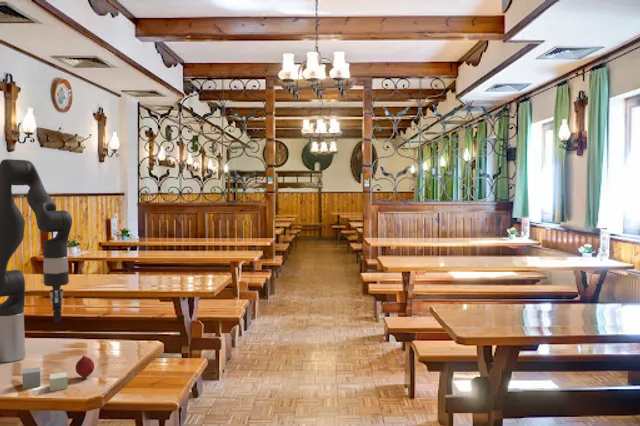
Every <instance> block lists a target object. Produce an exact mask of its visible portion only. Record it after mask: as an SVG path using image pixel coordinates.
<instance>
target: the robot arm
mask: <svg viewBox="0 0 640 426" xmlns="http://www.w3.org/2000/svg"><path fill="white" fill-rule="evenodd" d="M13 186H27V187H29V189H28V191H27V194H26V202H27V204H28V206H29V207H30V209H31V210H32V211H33V213H34V216H35V219H36V225H37V229H39V230H40V231H41V232H43V233H56V235H55V237H53V238H49V239H46V240H45V241H44V242H43V264H42V265H43V269H42V270H43V285H44V286H45V287H52V289H50V291H49V296H50V305H51V306H52V312H53V322H54V323H60V322H62V308H63V307H62V305H63V302H64V301H63V298H64V297H63V296H64V289H63V288H62V289H61V287H62V286H66V285H68V284H69V282H70V279H69V278H70V277H69V276H70V275H69V260H68V259H69V258H68V241H69V236H70V233H71V229H72V226H73V217H72V215H71V213H70V212H69V211H66V210H65V209H64V210H63V209H62V210H57V205H56V203H55V201H54V200H53V199H52V197H51V196H50V195H49V193H48V192H47V191H46V189H45V187H44V185H43V181H42V180H41V177H40V175H39V172H38V170H37V169H36V166H35V165H34V163H33V162H31V161H30V160H27V159H26V160H24V159H14V158H13V159H12V158H11V159H10V158H9V159H8V158H5V159H2V160H1V161H0V298H2V297H7V299H6V300H5V301H3V302H2V303H0V363H9V362H11V363H13V362H16V361H20V360H23V359H25V358H26V339H25V312H24V309H25V304H26V281H25V276H24V274H23V272H22V271H21V270H19V269H10V270H7V268H8V264H9V262H10V260H11V258H12V256H13V255H14V253H15V252H16V251H17V249H18V248H19V247H20V245H21V244H22V242H23V240H24V236H25V224H26V221H25V218H24V216H23V213H22V212H21V211H20V209H19V207H18V206H17V204H16V203H15V200H14V198H13Z"/></svg>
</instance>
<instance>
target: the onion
mask: <svg viewBox="0 0 640 426" xmlns="http://www.w3.org/2000/svg"><path fill="white" fill-rule="evenodd" d="M94 370H95V363H94V360H92V359H91V358H90V357H88V356H87V355H86V354H83V355H82V357H81V358H80V359H79V360H78V361H77V362H76V364H75V372H76V373H77V375H79V376H80V377H82V378H83V379H86V378H88V377H89V376H91V374H92V373H93V372H94Z"/></svg>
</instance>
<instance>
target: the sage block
mask: <svg viewBox="0 0 640 426" xmlns="http://www.w3.org/2000/svg"><path fill="white" fill-rule="evenodd" d="M67 389H68V372H67V371H66V372H64V371H63V372H59V373H50V374H49V391H50V392H53V391H61V390H67Z"/></svg>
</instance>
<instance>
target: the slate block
mask: <svg viewBox="0 0 640 426" xmlns="http://www.w3.org/2000/svg"><path fill="white" fill-rule="evenodd" d="M21 376H22V389H23V390H25V389H31V388H39V387H41V383H42V372H41V366H37V367H29V368H23V369H22V373H21Z"/></svg>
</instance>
